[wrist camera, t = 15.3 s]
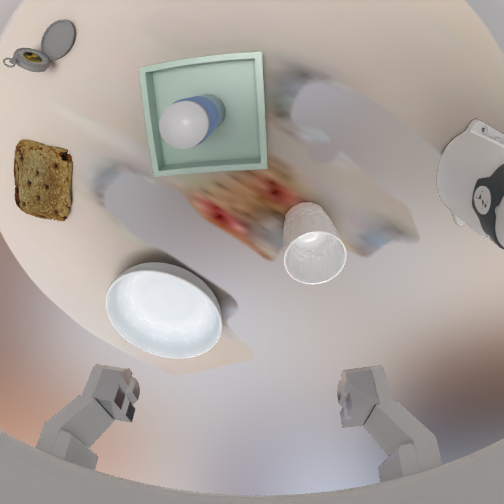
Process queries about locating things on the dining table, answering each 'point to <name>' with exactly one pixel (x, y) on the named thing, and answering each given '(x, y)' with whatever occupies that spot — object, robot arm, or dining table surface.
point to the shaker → (191, 120)
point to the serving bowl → (164, 310)
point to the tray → (235, 122)
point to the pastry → (42, 180)
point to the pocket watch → (46, 48)
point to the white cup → (311, 245)
